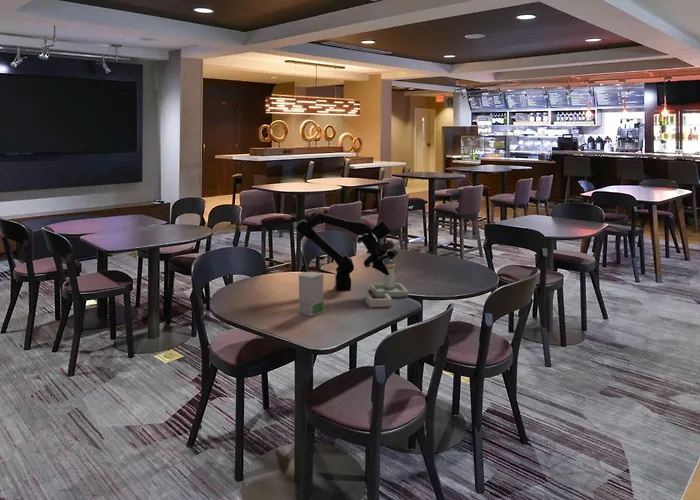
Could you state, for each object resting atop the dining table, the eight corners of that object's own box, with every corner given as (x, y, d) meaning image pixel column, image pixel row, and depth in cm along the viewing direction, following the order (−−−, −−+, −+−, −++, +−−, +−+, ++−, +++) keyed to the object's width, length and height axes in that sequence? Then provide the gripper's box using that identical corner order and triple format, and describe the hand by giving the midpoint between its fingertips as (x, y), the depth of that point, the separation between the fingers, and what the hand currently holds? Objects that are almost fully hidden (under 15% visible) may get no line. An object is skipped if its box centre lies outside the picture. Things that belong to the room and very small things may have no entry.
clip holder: (369, 307, 235) (369, 300, 234) (365, 301, 243) (365, 294, 243) (392, 306, 237) (392, 299, 236) (387, 300, 245) (387, 293, 244)
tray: (376, 298, 248) (376, 292, 247) (369, 289, 261) (369, 284, 261) (408, 296, 250) (408, 291, 250) (399, 288, 264) (400, 283, 263)
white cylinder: (388, 291, 252) (389, 261, 250) (380, 288, 256) (381, 259, 253) (396, 289, 255) (397, 260, 253) (388, 286, 259) (389, 258, 256)
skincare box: (311, 317, 221) (311, 277, 218) (297, 314, 225) (297, 275, 222) (324, 311, 228) (324, 273, 225) (310, 308, 232) (310, 271, 229)
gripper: (369, 237, 246) (389, 266, 242) (395, 232, 260) (414, 259, 256) (355, 252, 253) (374, 281, 248) (380, 246, 267) (399, 274, 262)
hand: (391, 273), depth 253 cm, fingers closed on white cylinder, 4 cm apart
